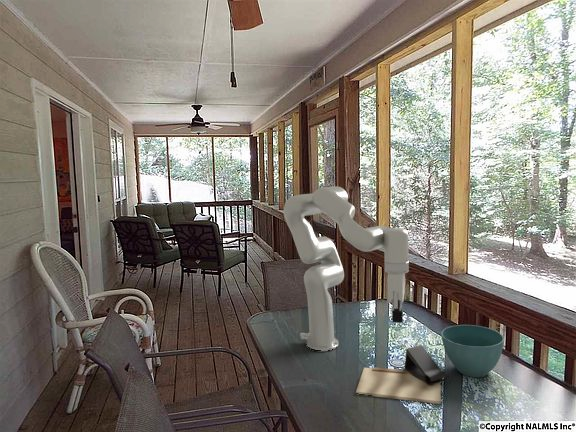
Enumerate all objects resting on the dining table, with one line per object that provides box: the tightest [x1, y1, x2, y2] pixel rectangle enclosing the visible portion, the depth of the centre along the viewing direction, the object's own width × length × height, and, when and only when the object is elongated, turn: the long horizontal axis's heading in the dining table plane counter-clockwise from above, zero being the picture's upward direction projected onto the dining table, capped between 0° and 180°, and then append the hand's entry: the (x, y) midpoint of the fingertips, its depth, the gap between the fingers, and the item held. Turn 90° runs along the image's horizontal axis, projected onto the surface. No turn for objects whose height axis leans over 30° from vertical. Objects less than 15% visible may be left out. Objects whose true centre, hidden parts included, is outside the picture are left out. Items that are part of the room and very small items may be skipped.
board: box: [355, 366, 442, 405], centre depth 126 cm, size 24×16×1 cm, turn 71°
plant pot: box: [440, 324, 505, 378], centre depth 131 cm, size 18×18×12 cm
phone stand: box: [403, 344, 447, 385], centre depth 129 cm, size 9×6×12 cm
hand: (397, 321), depth 133 cm, fingers closed
